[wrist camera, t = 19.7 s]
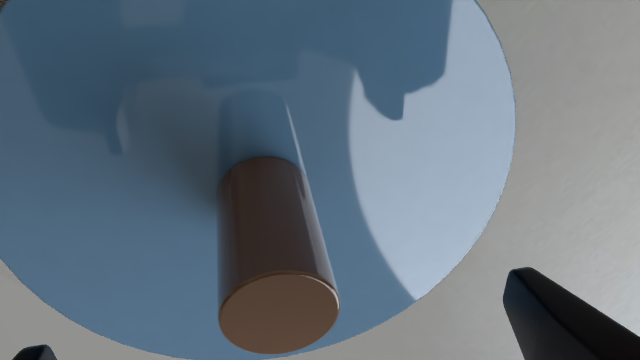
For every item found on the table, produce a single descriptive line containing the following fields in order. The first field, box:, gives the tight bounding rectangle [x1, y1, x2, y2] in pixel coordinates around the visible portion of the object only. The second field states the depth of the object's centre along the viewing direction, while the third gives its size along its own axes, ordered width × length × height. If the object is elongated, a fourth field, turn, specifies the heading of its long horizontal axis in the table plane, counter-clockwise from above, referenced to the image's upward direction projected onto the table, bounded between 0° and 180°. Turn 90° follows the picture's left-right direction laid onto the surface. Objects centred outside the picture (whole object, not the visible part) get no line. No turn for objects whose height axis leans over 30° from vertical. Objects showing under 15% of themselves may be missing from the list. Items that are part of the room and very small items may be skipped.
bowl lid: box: [0, 0, 516, 360], centre depth 12 cm, size 14×14×5 cm
